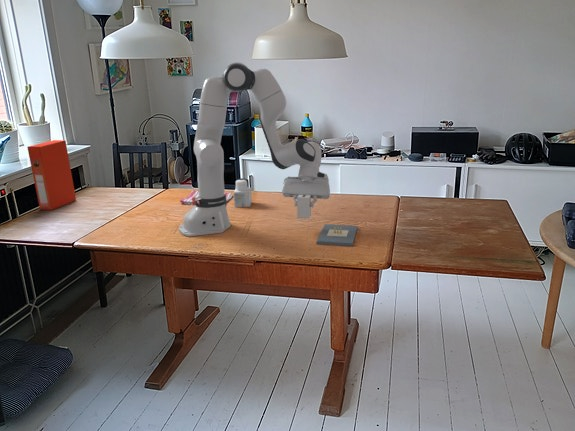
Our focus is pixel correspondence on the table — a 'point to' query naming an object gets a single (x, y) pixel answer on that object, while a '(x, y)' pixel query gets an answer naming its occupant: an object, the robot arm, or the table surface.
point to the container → (242, 193)
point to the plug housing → (303, 206)
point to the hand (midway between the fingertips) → (303, 206)
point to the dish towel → (195, 194)
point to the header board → (337, 235)
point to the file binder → (52, 174)
